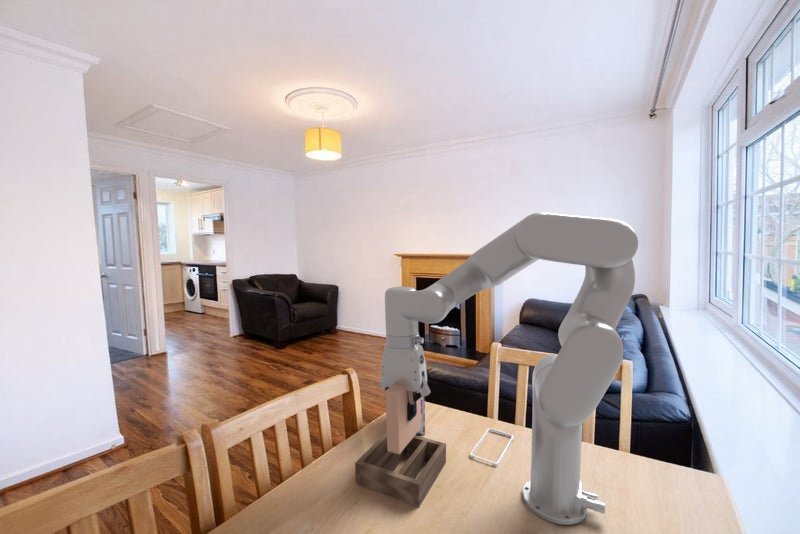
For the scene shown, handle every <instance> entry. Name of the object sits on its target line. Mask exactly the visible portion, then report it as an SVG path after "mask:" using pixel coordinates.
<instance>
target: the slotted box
mask: <svg viewBox="0 0 800 534" xmlns="http://www.w3.org/2000/svg"><path fill="white" fill-rule="evenodd" d="M407 455H410V456H409V458H408V459H407V460H406V461H405V463H404V464H403V465H402V467H401V468H400V469H399V471H398V472H395V469H396V468H397V467H398V466H399V465H400V463H401V462H402V460H403V459H405V457H406V456H407ZM427 461H428V462H427ZM354 464H355V465H354V472H355V473H354V474H355V485H356V484H357V485H359V486H362V487H365V488H367V489H369V490H372V491H374V492H377V493H380V494H383V495H386V496H388V497H391V498H392V499H396V500H399V501H402V502H404V503H407V504H409V505H412V506H415V507H417V508H420V506H421V505H422V503H423V502H424V500H425V498H426V496H427V495H428V493H429V492H430V491H431V489H432V487H433V485H434V483H435V481H436V480H437V479H438V476H439V475H440V473H441V471H443V468H444V467H445V465H446V464H447V443H444V442H442V441H438V440H434V439H430V438H427V437H423V436H421V435H420V436H419V435H415V436H414V437H413V438H412V440H411V441H410V442H409V443H408V444H407V446H406V447H405V448H404V449H403V451H402V452H401V453H400V454H396V453H393V452H389V451H387V430H386V431H385V432H384V433H383V434H382V435H381V436H380V437H379V438H378V439H377V440H376V442H375V441H374V443H373V445H371V446H370V447H369V448H368V449H367V451H365V452H364V453H363V454H362V456H361V457H359V458H358V459H357V461H356V462H355V463H354ZM425 464H426V465H425ZM416 477H417V478H416Z"/></svg>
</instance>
